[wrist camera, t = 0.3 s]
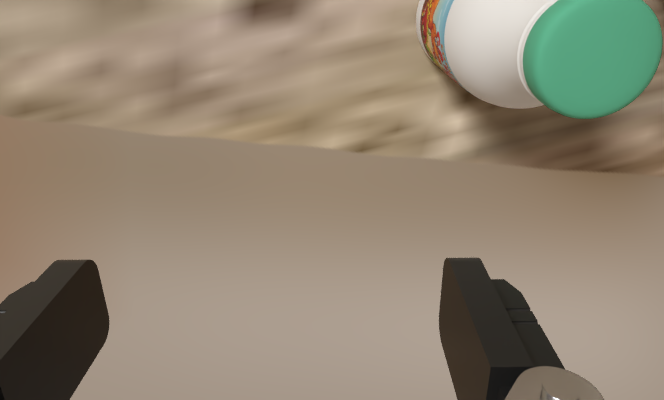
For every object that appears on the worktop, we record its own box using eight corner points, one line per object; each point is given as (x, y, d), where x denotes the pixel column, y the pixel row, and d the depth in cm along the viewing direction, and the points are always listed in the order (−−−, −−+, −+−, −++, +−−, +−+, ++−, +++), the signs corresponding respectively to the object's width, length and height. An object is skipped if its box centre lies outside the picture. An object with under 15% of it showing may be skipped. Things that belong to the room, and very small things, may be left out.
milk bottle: (450, -64, 35) (578, -109, 16) (545, -10, 36) (764, 5, 18) (394, 43, 37) (451, 108, 19) (485, 90, 39) (619, 192, 20)
